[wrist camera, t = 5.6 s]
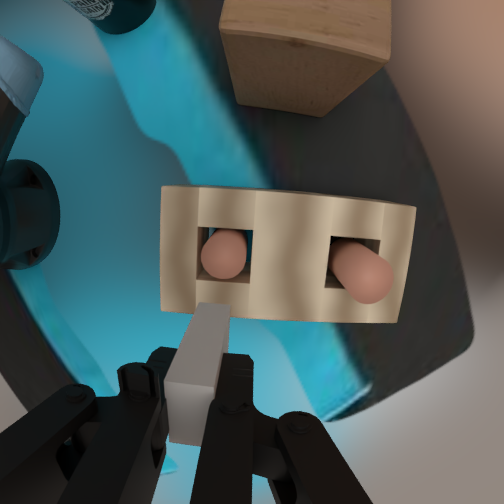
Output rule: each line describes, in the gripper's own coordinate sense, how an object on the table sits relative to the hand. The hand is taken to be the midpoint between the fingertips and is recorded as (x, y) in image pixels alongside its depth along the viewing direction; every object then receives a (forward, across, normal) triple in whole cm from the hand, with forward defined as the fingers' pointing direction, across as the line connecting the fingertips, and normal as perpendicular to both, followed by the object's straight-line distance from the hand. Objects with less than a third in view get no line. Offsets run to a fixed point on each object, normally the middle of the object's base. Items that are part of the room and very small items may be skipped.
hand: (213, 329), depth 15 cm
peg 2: (+18, +11, 0) cm, 21 cm away
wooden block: (+23, +4, +20) cm, 31 cm away
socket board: (+23, +5, 0) cm, 23 cm away
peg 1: (+22, -1, 0) cm, 22 cm away
